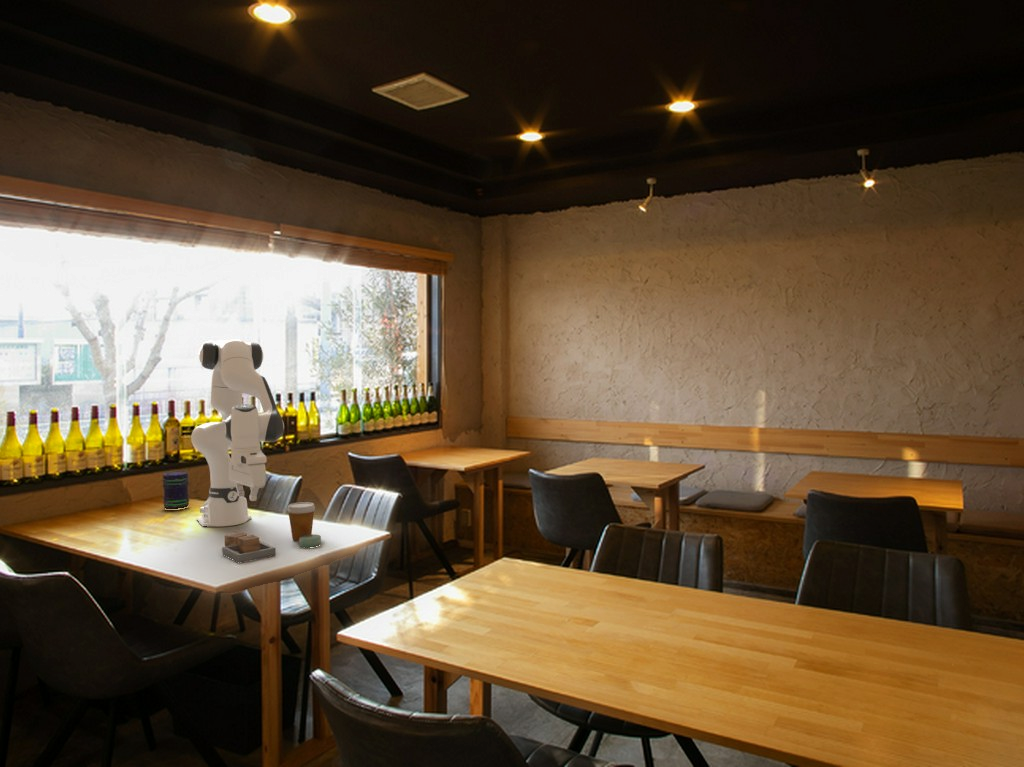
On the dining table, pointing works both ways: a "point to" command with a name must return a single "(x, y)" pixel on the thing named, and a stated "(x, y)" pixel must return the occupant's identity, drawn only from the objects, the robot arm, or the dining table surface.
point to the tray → (262, 553)
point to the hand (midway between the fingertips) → (246, 498)
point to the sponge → (310, 541)
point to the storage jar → (175, 490)
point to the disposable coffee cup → (301, 519)
